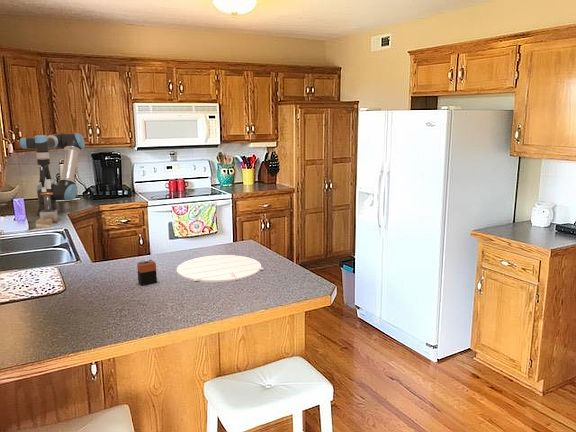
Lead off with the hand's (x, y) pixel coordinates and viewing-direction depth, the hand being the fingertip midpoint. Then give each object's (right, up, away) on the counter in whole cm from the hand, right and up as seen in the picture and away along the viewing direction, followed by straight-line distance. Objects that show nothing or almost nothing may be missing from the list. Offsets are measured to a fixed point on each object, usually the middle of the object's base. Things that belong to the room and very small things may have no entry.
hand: (46, 190), depth 320 cm
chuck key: (0, -17, +3) cm, 18 cm away
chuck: (0, -21, +4) cm, 22 cm away
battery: (+103, -46, -118) cm, 164 cm away
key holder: (+3, -24, -9) cm, 26 cm away
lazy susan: (+131, -42, -98) cm, 169 cm away
